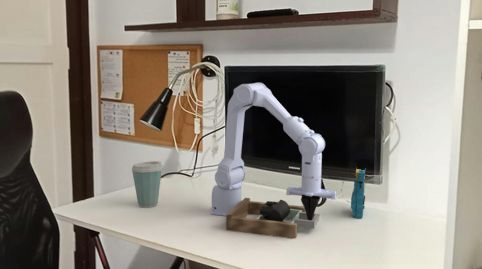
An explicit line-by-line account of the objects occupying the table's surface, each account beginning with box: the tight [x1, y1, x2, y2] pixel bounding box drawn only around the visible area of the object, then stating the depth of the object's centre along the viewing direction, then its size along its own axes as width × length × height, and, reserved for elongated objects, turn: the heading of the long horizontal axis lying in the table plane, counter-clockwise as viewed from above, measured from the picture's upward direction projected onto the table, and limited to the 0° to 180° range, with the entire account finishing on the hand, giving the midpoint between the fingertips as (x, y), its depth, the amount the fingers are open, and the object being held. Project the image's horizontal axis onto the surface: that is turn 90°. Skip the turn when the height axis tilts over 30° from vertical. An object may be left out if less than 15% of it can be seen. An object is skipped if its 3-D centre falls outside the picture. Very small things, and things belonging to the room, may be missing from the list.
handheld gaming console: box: [350, 168, 366, 220], centre depth 165 cm, size 10×4×15 cm, turn 164°
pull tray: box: [256, 209, 320, 229], centre depth 154 cm, size 17×14×4 cm
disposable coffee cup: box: [131, 160, 164, 208], centre depth 175 cm, size 11×11×15 cm
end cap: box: [259, 199, 290, 222], centre depth 156 cm, size 10×7×7 cm
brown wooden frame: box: [225, 197, 306, 239], centre depth 156 cm, size 21×18×5 cm
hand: (310, 219), depth 152 cm, fingers closed
